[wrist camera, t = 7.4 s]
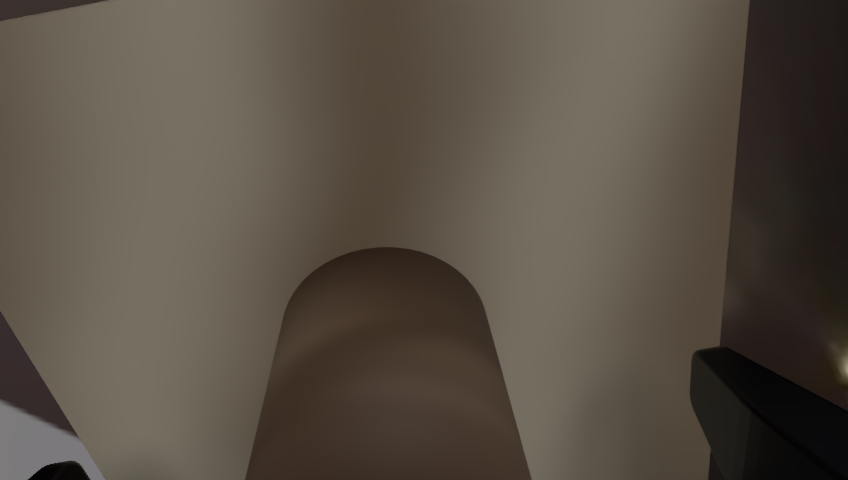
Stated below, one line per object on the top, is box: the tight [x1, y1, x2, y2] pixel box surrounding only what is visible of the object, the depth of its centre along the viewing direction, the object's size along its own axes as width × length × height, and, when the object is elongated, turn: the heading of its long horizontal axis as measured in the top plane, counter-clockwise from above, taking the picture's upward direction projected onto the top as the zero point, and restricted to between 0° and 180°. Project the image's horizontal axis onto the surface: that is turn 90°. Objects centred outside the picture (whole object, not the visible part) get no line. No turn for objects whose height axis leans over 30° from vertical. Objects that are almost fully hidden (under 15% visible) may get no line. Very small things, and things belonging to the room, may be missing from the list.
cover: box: [0, 0, 749, 480], centre depth 9 cm, size 12×12×5 cm
